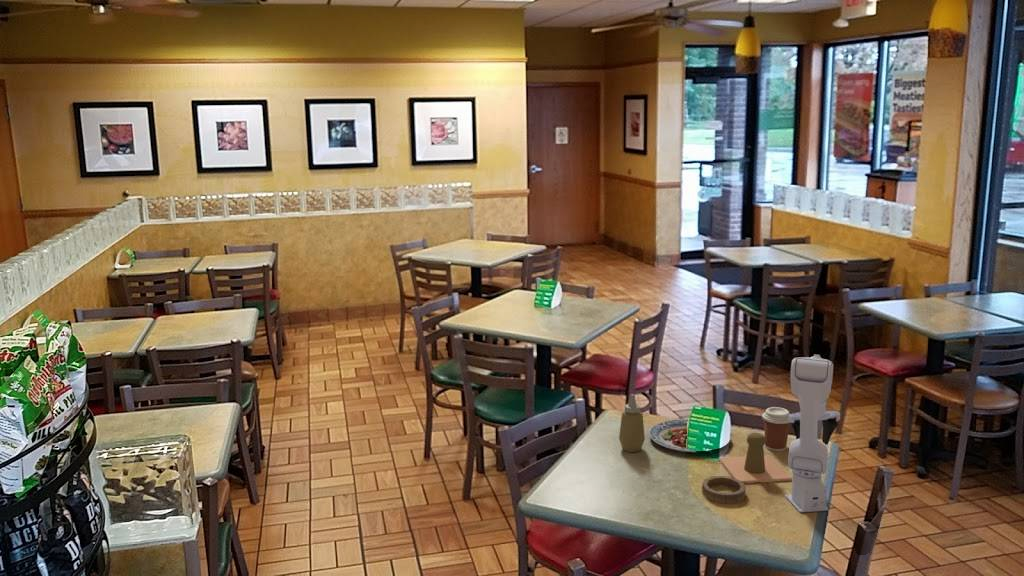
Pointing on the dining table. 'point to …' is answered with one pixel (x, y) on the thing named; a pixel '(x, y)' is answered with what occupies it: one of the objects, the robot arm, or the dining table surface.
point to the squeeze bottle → (632, 427)
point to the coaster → (738, 472)
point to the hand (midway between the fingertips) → (812, 444)
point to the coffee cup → (776, 428)
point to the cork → (755, 454)
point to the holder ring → (721, 496)
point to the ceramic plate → (671, 434)
